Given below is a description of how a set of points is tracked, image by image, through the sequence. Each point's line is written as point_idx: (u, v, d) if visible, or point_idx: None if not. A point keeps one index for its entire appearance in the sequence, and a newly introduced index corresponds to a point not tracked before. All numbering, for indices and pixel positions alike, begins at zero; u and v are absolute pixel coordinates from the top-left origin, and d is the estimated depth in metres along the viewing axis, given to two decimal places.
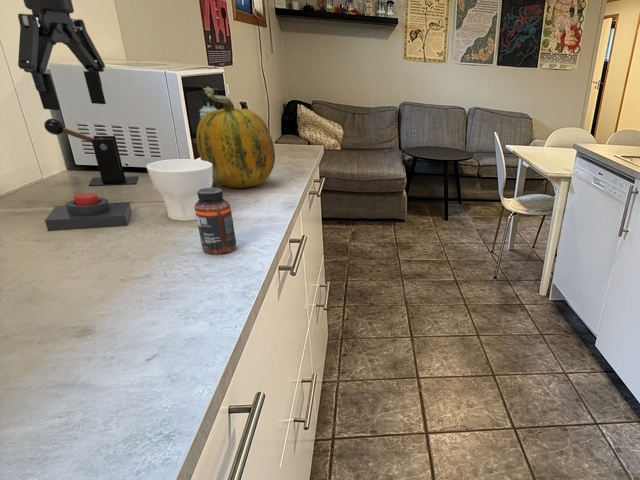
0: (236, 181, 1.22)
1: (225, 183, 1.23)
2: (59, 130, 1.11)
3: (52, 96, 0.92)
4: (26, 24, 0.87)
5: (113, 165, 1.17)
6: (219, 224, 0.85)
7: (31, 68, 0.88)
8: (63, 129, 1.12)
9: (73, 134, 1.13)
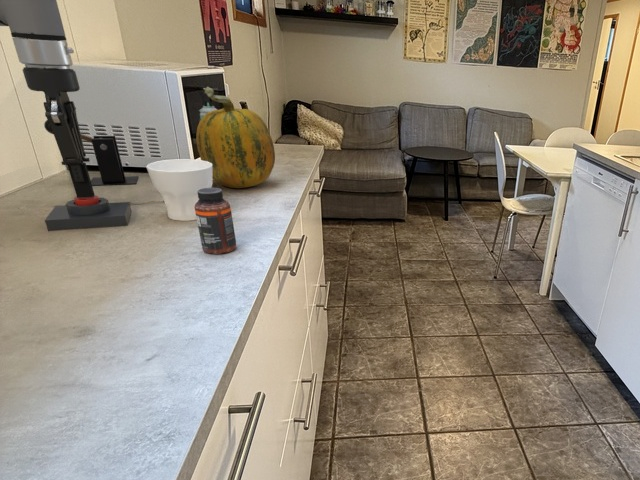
0: (236, 181, 1.22)
1: (225, 183, 1.23)
2: None
3: (88, 185, 0.94)
4: (57, 122, 0.84)
5: (113, 165, 1.17)
6: (219, 225, 0.85)
7: (78, 162, 0.90)
8: None
9: None
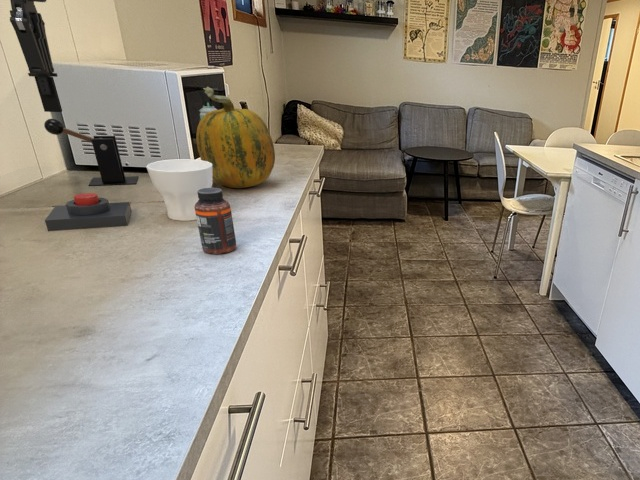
0: (236, 181, 1.22)
1: (225, 183, 1.23)
2: (59, 130, 1.11)
3: (55, 99, 0.96)
4: (22, 29, 0.87)
5: (113, 165, 1.17)
6: (219, 225, 0.85)
7: (44, 74, 0.92)
8: (63, 129, 1.12)
9: (73, 134, 1.13)
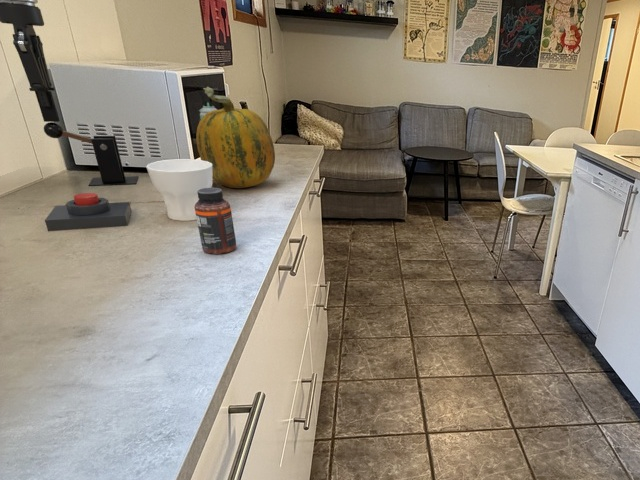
0: (236, 181, 1.22)
1: (225, 183, 1.23)
2: (58, 133, 1.11)
3: (54, 110, 1.09)
4: (24, 50, 0.99)
5: (113, 165, 1.17)
6: (219, 225, 0.85)
7: (44, 88, 1.05)
8: (62, 132, 1.12)
9: (73, 136, 1.13)
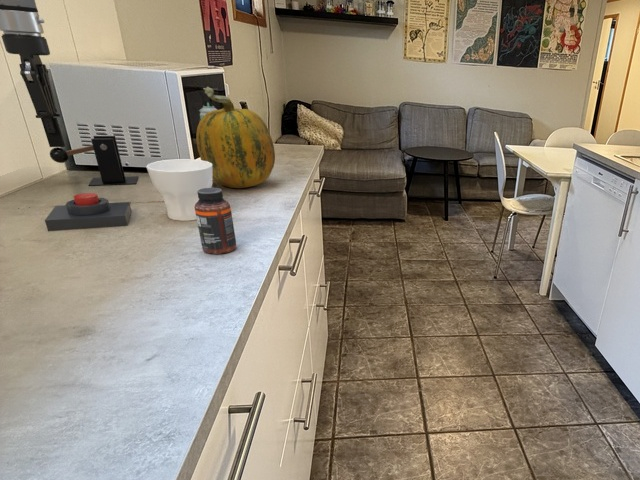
0: (236, 181, 1.22)
1: (225, 183, 1.23)
2: (64, 155, 1.13)
3: (59, 136, 1.12)
4: (30, 80, 1.02)
5: (113, 165, 1.17)
6: (219, 225, 0.85)
7: (50, 116, 1.08)
8: (66, 152, 1.14)
9: (76, 152, 1.15)
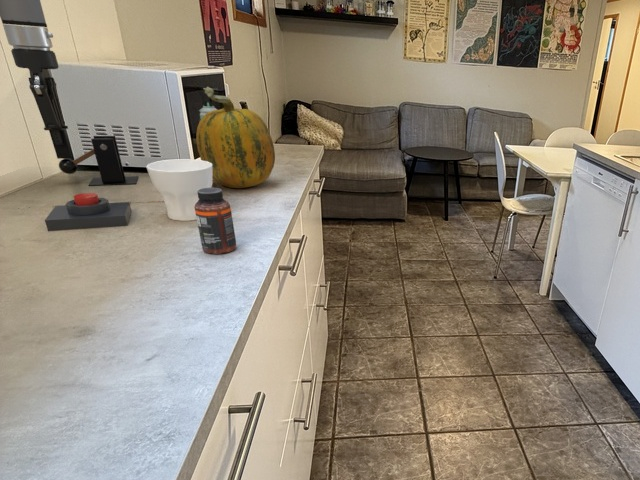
0: (236, 181, 1.22)
1: (225, 183, 1.23)
2: (72, 165, 1.15)
3: (67, 148, 1.13)
4: (39, 94, 1.04)
5: (113, 165, 1.17)
6: (219, 225, 0.85)
7: (58, 128, 1.09)
8: (73, 162, 1.15)
9: (82, 159, 1.16)
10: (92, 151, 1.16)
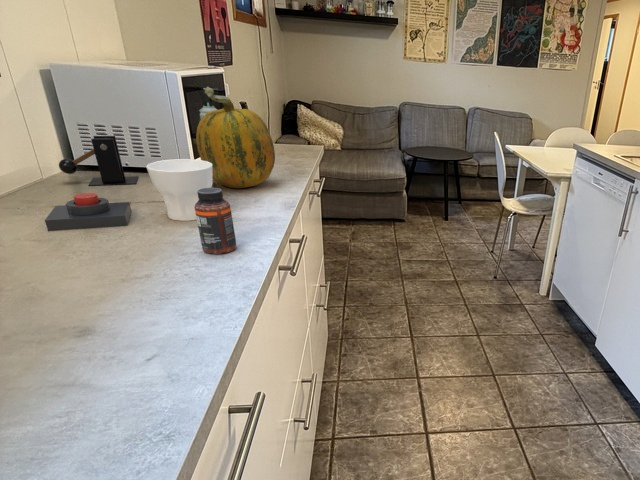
0: (236, 181, 1.22)
1: (225, 183, 1.23)
2: (72, 165, 1.15)
3: None
4: None
5: (113, 165, 1.17)
6: (219, 224, 0.85)
7: None
8: (73, 162, 1.15)
9: (82, 159, 1.16)
10: (92, 151, 1.16)
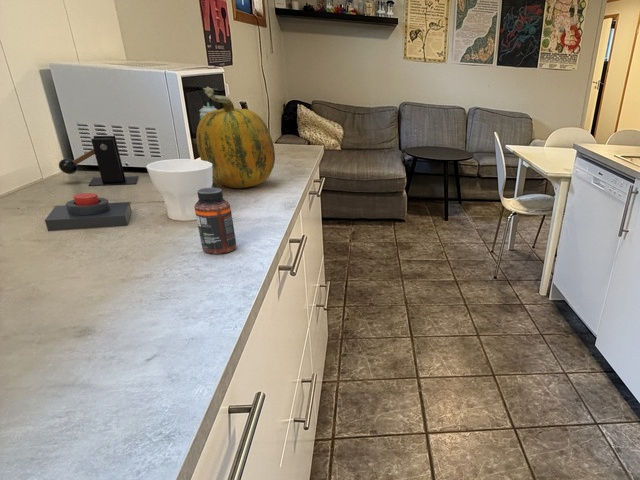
0: (236, 181, 1.22)
1: (225, 183, 1.23)
2: (72, 165, 1.15)
3: None
4: None
5: (113, 165, 1.17)
6: (219, 224, 0.85)
7: None
8: (73, 162, 1.15)
9: (82, 159, 1.16)
10: (92, 151, 1.16)
